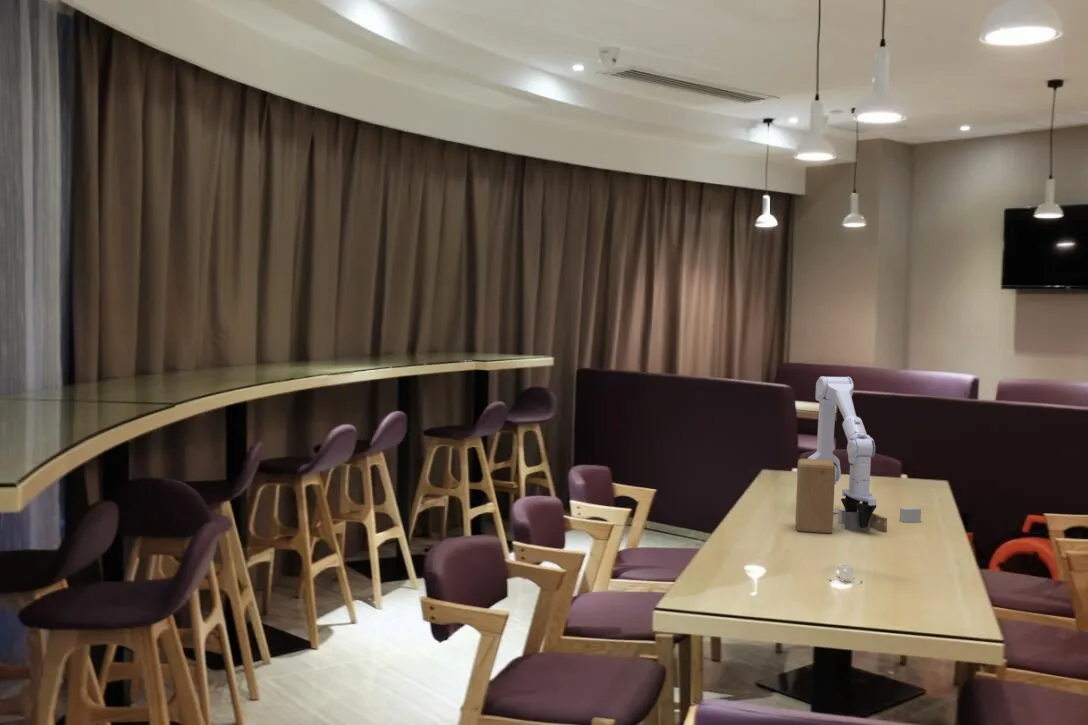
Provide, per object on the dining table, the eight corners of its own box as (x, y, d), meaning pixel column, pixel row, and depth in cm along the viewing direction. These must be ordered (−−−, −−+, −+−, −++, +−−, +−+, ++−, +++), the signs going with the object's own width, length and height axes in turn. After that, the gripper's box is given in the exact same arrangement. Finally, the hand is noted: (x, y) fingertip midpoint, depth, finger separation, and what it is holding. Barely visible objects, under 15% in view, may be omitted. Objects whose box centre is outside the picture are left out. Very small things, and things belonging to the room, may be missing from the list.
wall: (841, 523, 302) (841, 509, 301) (838, 522, 304) (838, 507, 303) (920, 522, 306) (921, 507, 306) (916, 520, 308) (917, 506, 308)
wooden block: (832, 534, 287) (835, 465, 286) (796, 532, 289) (799, 463, 288) (829, 526, 297) (832, 459, 296) (795, 524, 299) (797, 457, 298)
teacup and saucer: (837, 575, 246) (837, 558, 246) (868, 581, 241) (869, 564, 240) (821, 582, 239) (822, 565, 239) (854, 589, 234) (854, 572, 234)
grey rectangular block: (851, 531, 291) (852, 514, 291) (844, 529, 295) (845, 512, 294) (869, 531, 293) (870, 514, 293) (862, 528, 296) (863, 511, 296)
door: (859, 523, 303) (859, 510, 302) (864, 523, 303) (865, 510, 303) (881, 532, 291) (881, 518, 291) (886, 531, 292) (887, 518, 292)
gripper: (886, 483, 287) (884, 530, 288) (857, 474, 301) (855, 519, 302) (864, 483, 285) (862, 531, 286) (836, 474, 299) (834, 519, 300)
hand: (857, 524), depth 294 cm, fingers open, 6 cm apart
